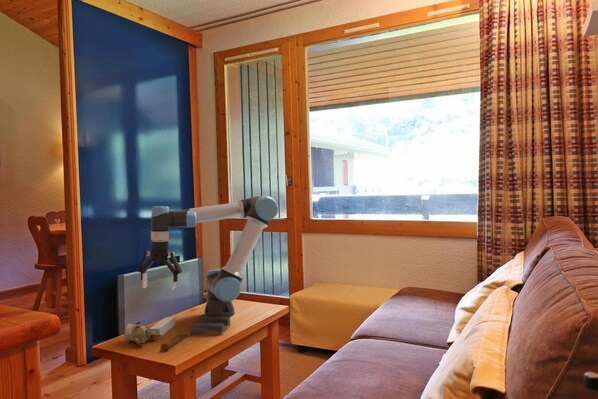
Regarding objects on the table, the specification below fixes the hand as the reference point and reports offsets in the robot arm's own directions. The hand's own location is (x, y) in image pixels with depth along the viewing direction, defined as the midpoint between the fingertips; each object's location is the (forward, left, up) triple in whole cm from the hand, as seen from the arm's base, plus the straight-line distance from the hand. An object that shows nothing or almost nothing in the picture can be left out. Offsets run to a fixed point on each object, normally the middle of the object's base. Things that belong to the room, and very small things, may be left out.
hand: (158, 288), depth 182 cm
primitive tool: (+11, +12, -21) cm, 26 cm away
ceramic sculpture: (+11, -3, -20) cm, 23 cm away
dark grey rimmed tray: (-5, +22, -20) cm, 30 cm away
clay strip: (-3, 0, -20) cm, 20 cm away
